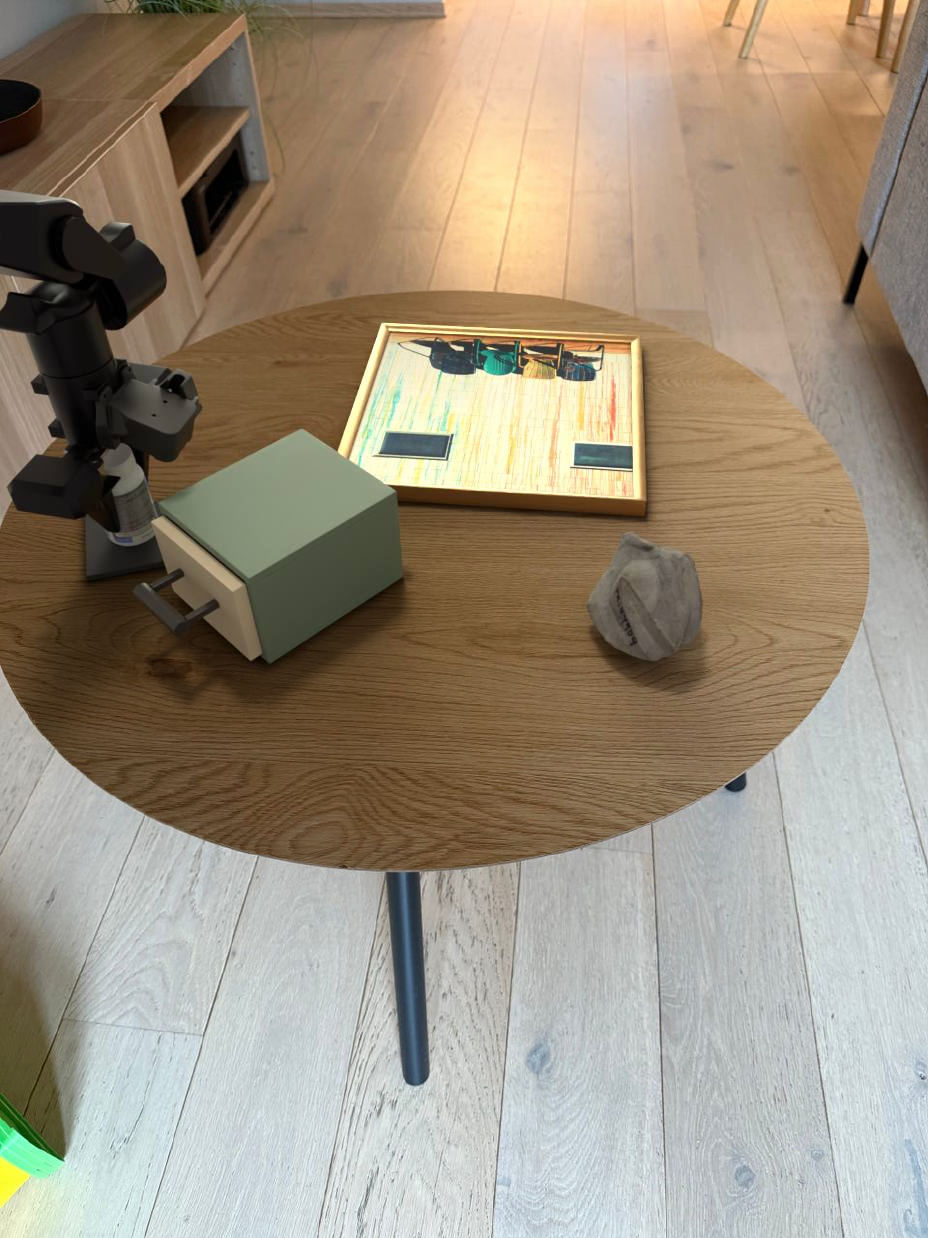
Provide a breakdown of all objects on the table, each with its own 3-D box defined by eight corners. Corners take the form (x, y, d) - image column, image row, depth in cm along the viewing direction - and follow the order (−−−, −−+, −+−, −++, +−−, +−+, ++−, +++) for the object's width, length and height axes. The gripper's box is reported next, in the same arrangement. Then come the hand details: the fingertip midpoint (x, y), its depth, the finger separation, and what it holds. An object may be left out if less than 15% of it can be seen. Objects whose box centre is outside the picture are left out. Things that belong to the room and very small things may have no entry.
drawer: (206, 690, 74) (183, 620, 68) (130, 615, 79) (103, 546, 74) (378, 578, 82) (371, 509, 76) (298, 519, 88) (286, 450, 82)
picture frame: (641, 334, 108) (646, 500, 88) (639, 349, 110) (644, 516, 89) (381, 322, 111) (327, 481, 90) (383, 337, 112) (329, 496, 92)
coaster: (88, 581, 84) (86, 576, 83) (86, 518, 90) (84, 513, 89) (191, 561, 85) (189, 556, 85) (182, 500, 91) (181, 495, 91)
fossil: (561, 602, 81) (568, 531, 75) (650, 570, 84) (662, 499, 78) (632, 692, 74) (645, 621, 68) (726, 654, 77) (747, 583, 71)
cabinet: (269, 664, 77) (248, 578, 70) (184, 588, 83) (157, 502, 76) (403, 576, 84) (396, 490, 77) (315, 512, 90) (301, 427, 83)
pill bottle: (171, 524, 87) (148, 449, 81) (134, 554, 84) (107, 478, 78) (133, 507, 89) (108, 433, 83) (96, 536, 86) (67, 461, 80)
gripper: (110, 440, 66) (163, 598, 77) (219, 313, 79) (251, 465, 90) (-30, 420, 68) (41, 578, 79) (98, 299, 81) (144, 449, 92)
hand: (127, 514), depth 85 cm, fingers closed on pill bottle, 5 cm apart
